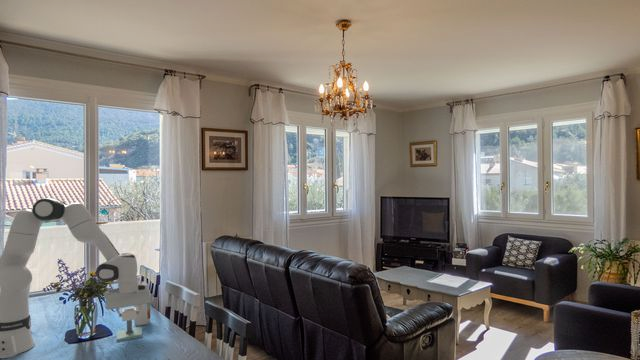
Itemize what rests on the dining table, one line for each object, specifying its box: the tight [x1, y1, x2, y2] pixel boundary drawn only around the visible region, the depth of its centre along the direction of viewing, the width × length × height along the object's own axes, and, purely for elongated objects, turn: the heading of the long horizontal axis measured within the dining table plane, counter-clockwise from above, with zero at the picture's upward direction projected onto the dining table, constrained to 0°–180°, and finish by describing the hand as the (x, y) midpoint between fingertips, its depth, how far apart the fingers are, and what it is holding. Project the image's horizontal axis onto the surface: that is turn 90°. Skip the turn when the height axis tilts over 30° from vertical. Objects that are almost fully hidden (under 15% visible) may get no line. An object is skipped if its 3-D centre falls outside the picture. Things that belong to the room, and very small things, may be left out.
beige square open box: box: [121, 306, 137, 322], centre depth 194 cm, size 6×6×4 cm
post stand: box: [116, 320, 143, 342], centre depth 194 cm, size 11×11×9 cm
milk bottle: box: [133, 302, 151, 327], centre depth 209 cm, size 8×8×20 cm
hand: (129, 315), depth 194 cm, fingers closed on beige square open box, 6 cm apart
